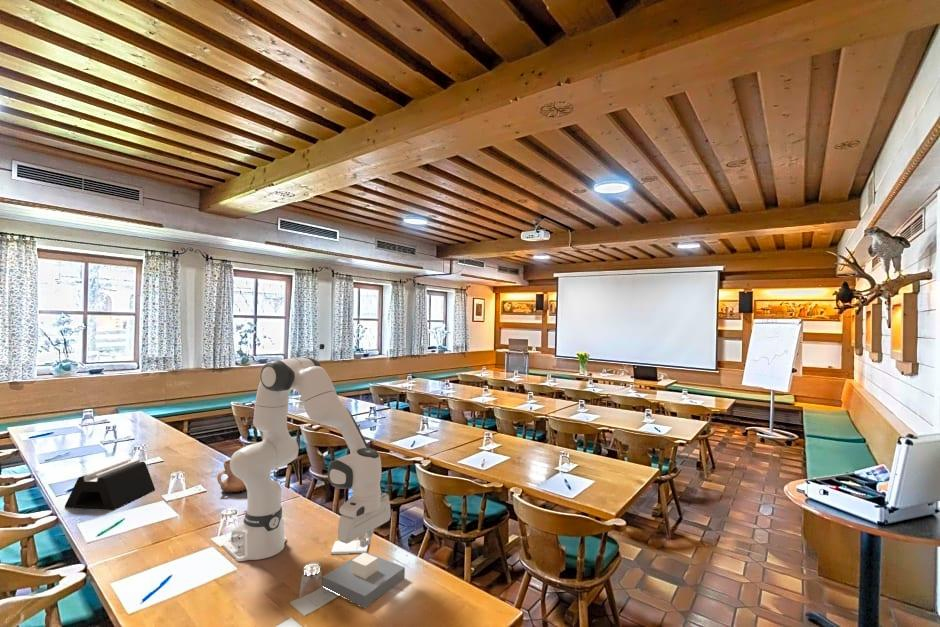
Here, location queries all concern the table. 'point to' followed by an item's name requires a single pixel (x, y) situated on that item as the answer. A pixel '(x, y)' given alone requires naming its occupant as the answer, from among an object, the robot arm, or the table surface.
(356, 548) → the external hard drive
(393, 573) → the socket
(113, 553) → the table surface
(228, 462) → the ceramic jug
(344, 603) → the table surface
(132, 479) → the device stand
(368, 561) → the cream white block
